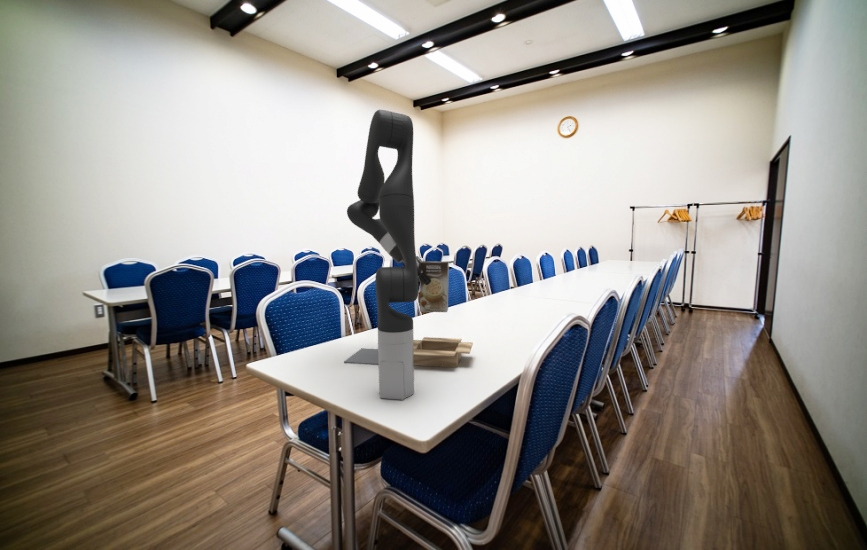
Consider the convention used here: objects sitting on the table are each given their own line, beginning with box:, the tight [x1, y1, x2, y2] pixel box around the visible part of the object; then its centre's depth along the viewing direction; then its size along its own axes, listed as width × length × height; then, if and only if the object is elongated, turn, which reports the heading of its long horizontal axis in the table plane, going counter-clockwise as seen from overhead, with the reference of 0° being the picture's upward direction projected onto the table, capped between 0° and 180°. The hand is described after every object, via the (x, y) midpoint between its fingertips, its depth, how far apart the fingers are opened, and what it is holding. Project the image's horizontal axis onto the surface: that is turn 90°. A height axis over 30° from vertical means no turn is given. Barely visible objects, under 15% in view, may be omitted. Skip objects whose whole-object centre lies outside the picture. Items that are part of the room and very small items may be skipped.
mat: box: [343, 348, 379, 366], centre depth 127 cm, size 15×14×1 cm
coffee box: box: [419, 260, 450, 313], centre depth 121 cm, size 9×6×16 cm
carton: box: [413, 336, 474, 368], centre depth 123 cm, size 19×22×5 cm
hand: (431, 281), depth 121 cm, fingers closed on coffee box, 6 cm apart
